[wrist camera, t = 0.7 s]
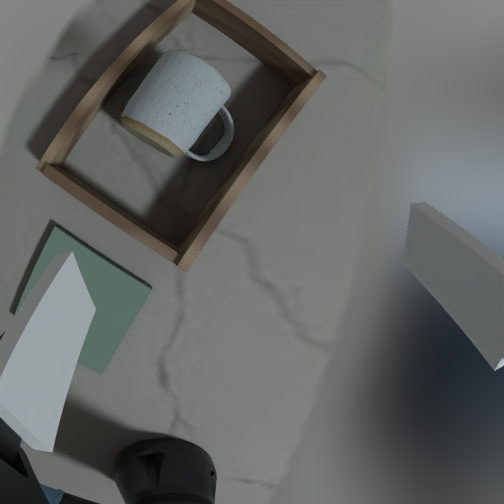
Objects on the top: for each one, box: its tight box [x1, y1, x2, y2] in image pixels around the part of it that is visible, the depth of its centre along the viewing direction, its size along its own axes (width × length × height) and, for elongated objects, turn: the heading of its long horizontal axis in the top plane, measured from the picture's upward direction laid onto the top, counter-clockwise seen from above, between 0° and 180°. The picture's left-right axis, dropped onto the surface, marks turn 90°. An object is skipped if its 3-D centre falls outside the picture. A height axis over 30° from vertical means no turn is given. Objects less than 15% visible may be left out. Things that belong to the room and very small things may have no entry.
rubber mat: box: [14, 225, 152, 374], centre depth 29 cm, size 12×12×1 cm
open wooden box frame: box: [36, 0, 326, 272], centre depth 27 cm, size 24×17×5 cm
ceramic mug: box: [121, 50, 234, 161], centre depth 26 cm, size 11×8×8 cm
